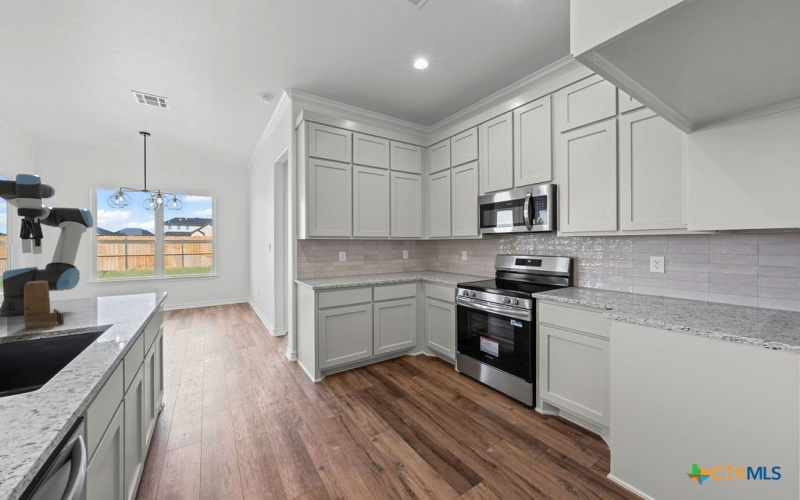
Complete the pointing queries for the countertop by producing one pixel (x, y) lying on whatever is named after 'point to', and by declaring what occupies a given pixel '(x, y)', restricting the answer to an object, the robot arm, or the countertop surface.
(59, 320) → the lane rail
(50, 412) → the countertop surface
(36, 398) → the countertop surface
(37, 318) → the lane backstop
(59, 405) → the countertop surface
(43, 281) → the block
